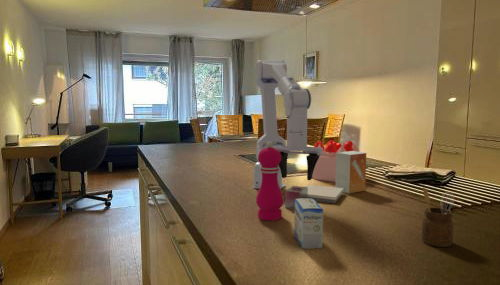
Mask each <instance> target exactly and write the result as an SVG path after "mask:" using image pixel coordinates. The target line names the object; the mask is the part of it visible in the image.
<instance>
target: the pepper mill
mask: <svg viewBox="0 0 500 285" xmlns="http://www.w3.org/2000/svg"><path fill="white" fill-rule="evenodd" d="M265 144H266V146H267V148H264V149H262V150H261V151H260V152H259V155H258V160H257V162H259V163H260V164H261V166H260V168H261V170H260V172H262V183H261V187H260V189H258V191H257V194H256V197H255V198H256V199H255V204H256V205H257V207H258V210H257V216H258V218H259V220H263V221H269V222H270V221H271V222H273V221H278V220H280V219H282V216H283V214H282V213H283V211H282V209H281V208H282V206H283V205H284V204H285V201H284V200H285V199H284V194H283V192H282V190H281V189H280V188H279V185H278V179H277V175H278V172H279V166H278V164H279V163H280V162H281V154H280V152H279V151H278V150H277V149H275V148H272V147H273V144H274V143H272V142H267V143H265Z"/></svg>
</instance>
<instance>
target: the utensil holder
mask: <svg viewBox="0 0 500 285" xmlns="http://www.w3.org/2000/svg"><path fill="white" fill-rule="evenodd" d="M422 191H423V197H424V201H425V203H426V205H427V206H426V208H425V210H424V212H423V213H424V217H423V218H422V221H421V240H422V242H423V243H425V244H427V245H429V246H433V247H438V248H447V247H450V246H452V245H453V241H454V240H453V238H454V221H453V220H452V219H453V213H452V211H451V208H452V206H453V203H454V199H453V197H454V194H453V193H451V192H450V191H445V192H443V193H442V197H441V198H440V200H442V201H440V202H439V203H440V207H436V206H435V207H434V206H433V207H432V206H431V207H430V203H431V198H430V195H429V191H428V188H425V187H424V186H422ZM447 193H448V194H447ZM445 194H447V196H445ZM450 195H451V196H450ZM446 197H451V198H446ZM444 198H446V199H444ZM447 199H448V200H447ZM449 200H451V201H450V203H449V202H447V205H448V203H449V204H450V205H449V207H448V206H445V207H443V202H444V201H449ZM444 205H446V202H445V204H444ZM447 207H448V209H447Z"/></svg>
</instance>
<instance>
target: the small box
mask: <svg viewBox="0 0 500 285" xmlns="http://www.w3.org/2000/svg"><path fill="white" fill-rule="evenodd" d="M366 169H367V152H362V151H359V152H357V151H348V152H340V153H336V182H335V187H336V188H344V191H343V192H342V193H343V194H344V193H345V194H349V195H350V194H355V193H358V192H364V191H366V174H367V173H366V172H367V171H366Z"/></svg>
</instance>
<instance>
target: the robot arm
mask: <svg viewBox="0 0 500 285" xmlns="http://www.w3.org/2000/svg"><path fill="white" fill-rule="evenodd" d="M254 79H255V85H256V87H258V88H259V89H260V95H261V96H260V98H261V109H262V124H263V127H262V128H263V135H262V136H261V137H259V138H258V139H257V141H256V149H255V155H256V157H255V158H256V160H257V162H256V163H255V164H254V165H253V166H254V167H253V186H252V188H253V189H258V190H259V189H260V187H261V183H262V172H260V170H261V168H260V166H261V164H260V163H259V161H258V155H259V152H260V151H261V150H262V149H264V148H267V146H266V144H267V142H272V143H273V147H272V148H275V149H277V150H278V151H279V152H280V154H281V162H280V163H279V164H278V166H279V172H278V175H277V179H278V185H279V188H280V190H281V189H282V188H285V187H286V185H287V184H285V183H284V184H282V183H283V180H282V179H285V178H287V176H288V168H287V167H288V155H289V154H298V155H306V157H305V158H306V163H307V164H306V165H307V174H306V175H307V176H306V179H307V181H312V179H313V178H312V175H313V171H314V168H315V165H316V163H317V161H318V159H319V156H320V155H322V154H323V148H318V147H314V146H308V110H309V109H310V107H311V104H312V95H311V92H310V90H309V88H302V87H301V86H300V84H299V83H298V82H297V80H296V79H295V78H294V77H293V75H289V74H288V66H287V63H286V62H285V60H261V59H258V60H257V61H256V63H255V69H254ZM276 88H278V91H279V92H280V95H281V96H282V97H283V106H284V113H285V116H286V140H285V138H283V137H282V136H281V135H279V134H278V121H277V119H278V118H277V107H276V106H277V105H276V104H277V103H276V93H275V92H276Z"/></svg>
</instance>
